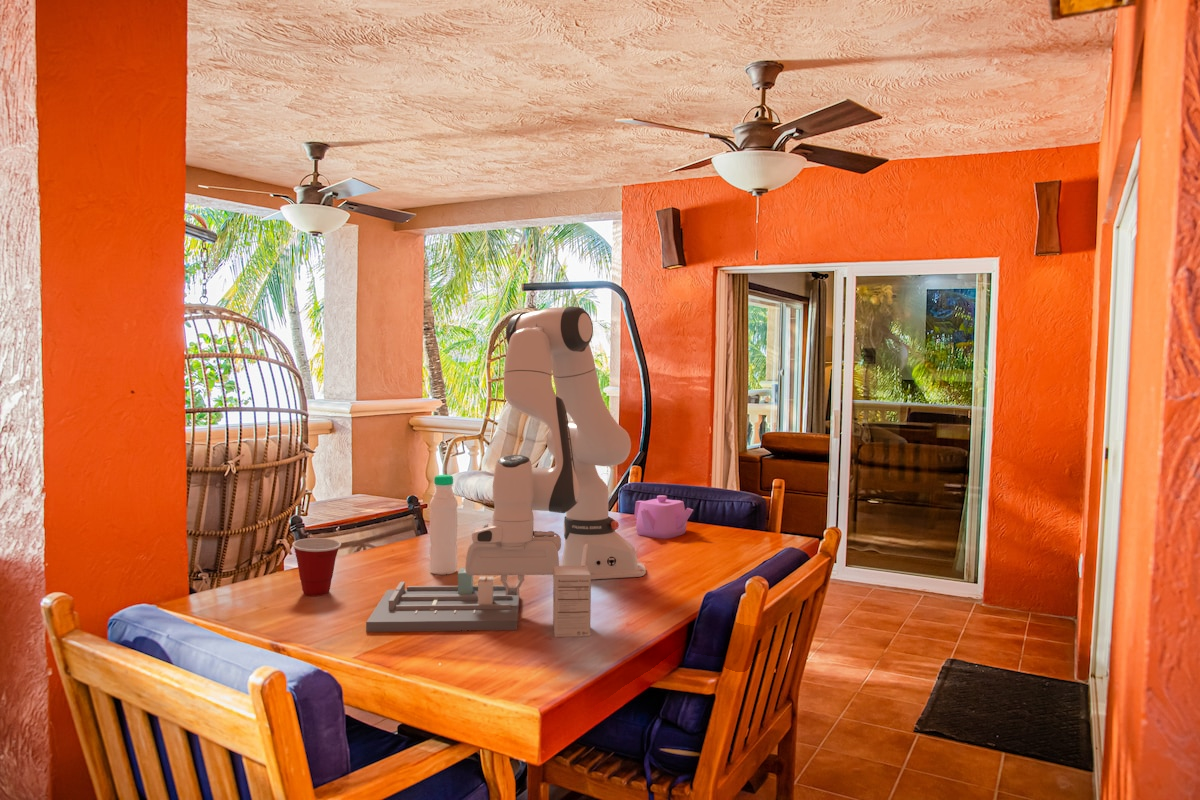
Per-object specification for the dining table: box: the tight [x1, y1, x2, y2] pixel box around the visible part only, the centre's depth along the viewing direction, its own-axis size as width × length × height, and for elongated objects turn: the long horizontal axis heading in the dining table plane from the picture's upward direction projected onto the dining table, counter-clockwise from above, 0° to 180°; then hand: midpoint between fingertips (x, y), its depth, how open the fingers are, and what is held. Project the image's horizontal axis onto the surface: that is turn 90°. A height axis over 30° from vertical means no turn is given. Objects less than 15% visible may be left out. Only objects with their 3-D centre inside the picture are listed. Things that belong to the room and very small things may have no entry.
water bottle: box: [428, 474, 458, 576], centre depth 216 cm, size 7×7×25 cm
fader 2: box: [477, 575, 494, 604], centre depth 181 cm, size 3×5×5 cm, turn 4°
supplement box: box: [552, 565, 592, 638], centre depth 169 cm, size 7×7×13 cm
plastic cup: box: [291, 537, 342, 597], centre depth 195 cm, size 11×11×12 cm
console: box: [365, 581, 520, 633], centre depth 180 cm, size 30×24×4 cm
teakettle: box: [633, 494, 694, 540], centre depth 268 cm, size 17×17×12 cm
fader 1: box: [457, 567, 474, 594], centre depth 189 cm, size 3×5×5 cm, turn 4°
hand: (512, 594), depth 181 cm, fingers closed
